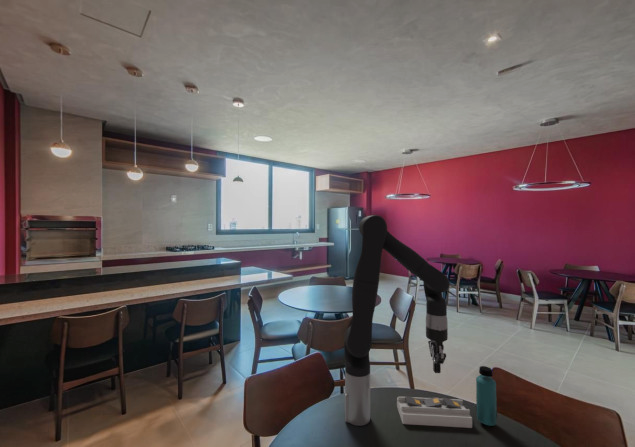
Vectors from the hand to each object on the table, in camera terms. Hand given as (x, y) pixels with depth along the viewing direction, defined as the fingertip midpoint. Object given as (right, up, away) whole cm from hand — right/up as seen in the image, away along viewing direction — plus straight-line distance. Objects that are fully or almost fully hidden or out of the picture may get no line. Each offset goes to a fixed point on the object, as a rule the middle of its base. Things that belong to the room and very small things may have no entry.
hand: (436, 372), depth 106 cm
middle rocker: (-2, -12, 0) cm, 12 cm away
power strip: (-2, -17, 0) cm, 17 cm away
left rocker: (-9, -12, 0) cm, 14 cm away
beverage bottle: (+16, -17, -4) cm, 23 cm away
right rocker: (+5, -12, -1) cm, 13 cm away
